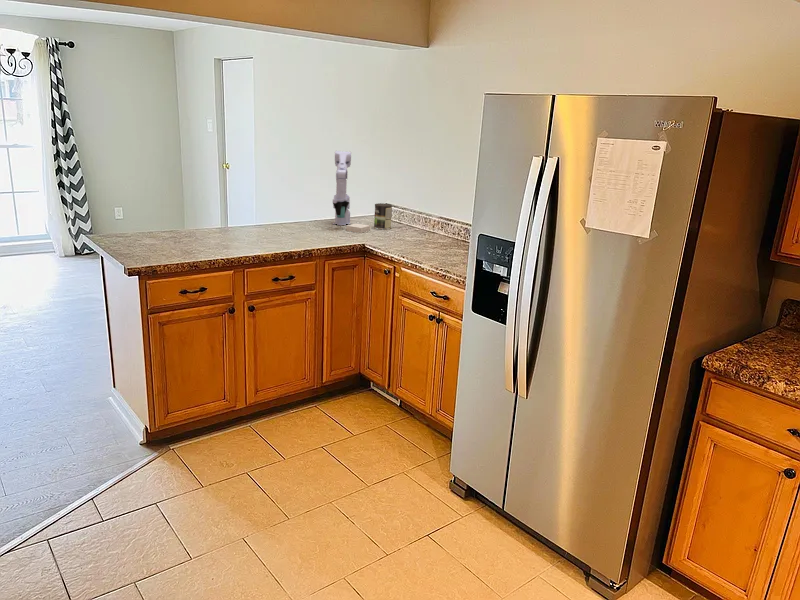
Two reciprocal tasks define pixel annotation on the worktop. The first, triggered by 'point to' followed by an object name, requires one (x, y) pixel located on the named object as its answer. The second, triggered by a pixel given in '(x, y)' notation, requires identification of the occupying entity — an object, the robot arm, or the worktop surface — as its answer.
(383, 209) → the coffee can
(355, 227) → the plinth
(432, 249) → the worktop surface
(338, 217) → the teal cylinder
